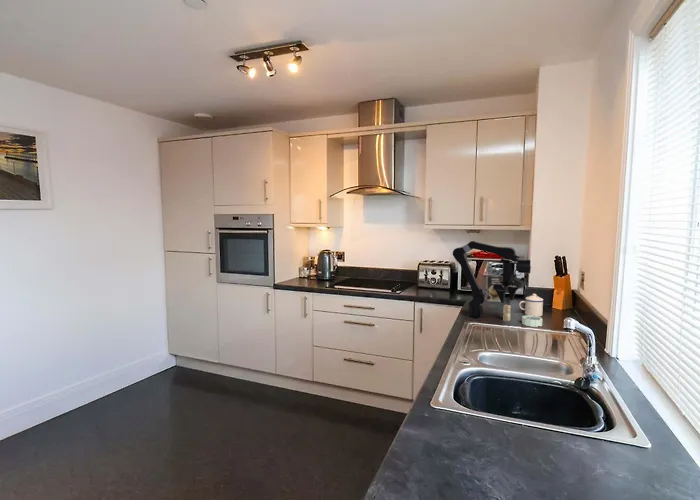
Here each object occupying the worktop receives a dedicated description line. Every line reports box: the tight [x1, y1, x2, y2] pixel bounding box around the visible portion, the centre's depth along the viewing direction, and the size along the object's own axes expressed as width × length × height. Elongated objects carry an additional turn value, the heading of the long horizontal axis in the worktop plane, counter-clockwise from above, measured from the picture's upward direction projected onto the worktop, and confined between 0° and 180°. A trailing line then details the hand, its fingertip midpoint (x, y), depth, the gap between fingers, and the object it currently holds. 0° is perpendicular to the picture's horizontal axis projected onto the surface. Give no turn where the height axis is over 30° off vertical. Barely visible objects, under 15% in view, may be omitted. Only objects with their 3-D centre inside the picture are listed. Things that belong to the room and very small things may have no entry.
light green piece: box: [521, 315, 543, 328], centre depth 188 cm, size 9×9×3 cm
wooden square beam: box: [502, 304, 512, 322], centre depth 195 cm, size 2×2×8 cm
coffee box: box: [485, 274, 502, 303], centre depth 239 cm, size 9×6×16 cm
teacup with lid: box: [518, 293, 544, 318], centre depth 206 cm, size 12×9×12 cm
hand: (507, 301), depth 194 cm, fingers open, 9 cm apart
